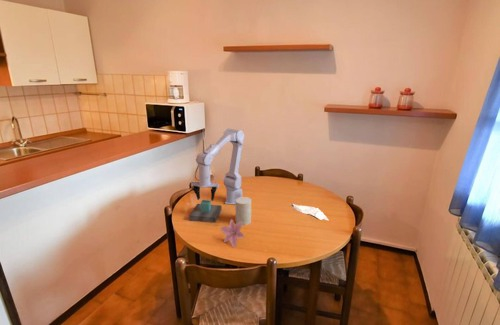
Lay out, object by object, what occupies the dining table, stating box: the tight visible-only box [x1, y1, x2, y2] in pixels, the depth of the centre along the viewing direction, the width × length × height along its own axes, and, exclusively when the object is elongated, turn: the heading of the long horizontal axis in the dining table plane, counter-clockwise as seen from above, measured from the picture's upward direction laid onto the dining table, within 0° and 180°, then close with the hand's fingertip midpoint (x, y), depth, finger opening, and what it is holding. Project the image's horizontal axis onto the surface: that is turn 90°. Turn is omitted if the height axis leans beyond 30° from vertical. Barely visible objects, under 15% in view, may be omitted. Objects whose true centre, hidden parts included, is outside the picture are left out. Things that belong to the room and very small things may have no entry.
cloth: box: [290, 203, 329, 221], centre depth 157 cm, size 26×14×2 cm, turn 32°
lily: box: [220, 218, 246, 249], centre depth 127 cm, size 12×12×10 cm
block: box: [199, 199, 212, 212], centre depth 149 cm, size 4×4×5 cm
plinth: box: [188, 203, 223, 224], centre depth 150 cm, size 14×14×3 cm
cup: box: [235, 196, 252, 226], centre depth 144 cm, size 8×8×12 cm
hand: (205, 199), depth 148 cm, fingers open, 7 cm apart
